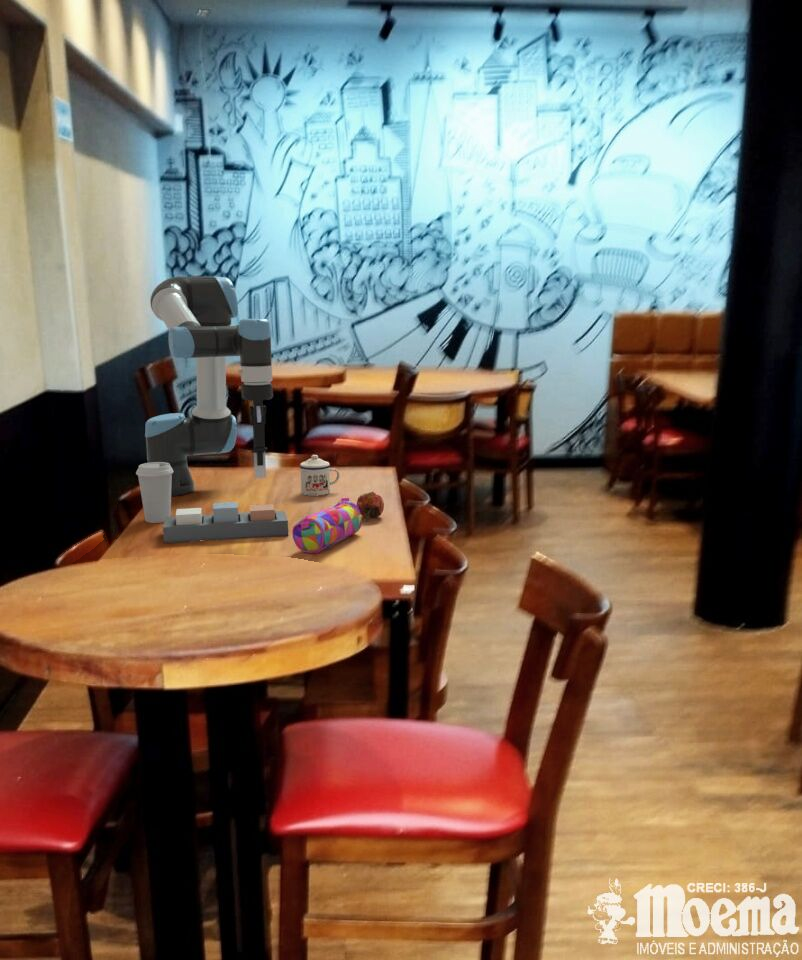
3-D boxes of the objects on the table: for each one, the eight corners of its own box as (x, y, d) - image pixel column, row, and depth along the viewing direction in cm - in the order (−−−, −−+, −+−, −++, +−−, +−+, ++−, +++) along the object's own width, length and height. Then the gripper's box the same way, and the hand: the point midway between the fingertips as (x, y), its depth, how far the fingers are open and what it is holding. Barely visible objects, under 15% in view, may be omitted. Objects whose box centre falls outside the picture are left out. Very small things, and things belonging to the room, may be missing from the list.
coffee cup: (166, 525, 224) (162, 469, 221) (132, 523, 226) (128, 467, 223) (182, 516, 233) (179, 462, 230) (150, 514, 235) (146, 460, 232)
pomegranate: (382, 529, 228) (392, 500, 234) (373, 512, 223) (383, 482, 229) (357, 529, 231) (367, 500, 237) (348, 512, 226) (358, 483, 232)
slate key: (214, 520, 218) (213, 503, 217) (238, 518, 219) (237, 501, 218) (214, 526, 212) (213, 508, 211) (238, 525, 213) (237, 507, 212)
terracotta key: (250, 522, 220) (249, 505, 219) (274, 521, 221) (273, 504, 220) (251, 528, 214) (250, 511, 213) (275, 527, 215) (274, 509, 214)
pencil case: (331, 530, 220) (330, 495, 218) (364, 533, 217) (364, 498, 215) (290, 553, 200) (288, 516, 198) (326, 558, 197) (325, 520, 195)
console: (166, 532, 218) (165, 517, 217) (285, 525, 224) (284, 510, 223) (164, 543, 208) (163, 527, 207) (288, 536, 214) (287, 520, 213)
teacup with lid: (303, 497, 254) (302, 459, 251) (298, 490, 262) (297, 453, 260) (342, 495, 257) (342, 456, 254) (336, 488, 266) (336, 451, 263)
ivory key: (177, 526, 216) (176, 509, 215) (202, 525, 217) (201, 507, 216) (176, 532, 210) (175, 515, 209) (201, 531, 211) (200, 513, 211)
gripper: (240, 380, 215) (244, 472, 220) (241, 386, 203) (246, 483, 208) (270, 380, 216) (274, 471, 222) (273, 385, 204) (277, 482, 209)
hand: (260, 477), depth 215 cm, fingers closed
